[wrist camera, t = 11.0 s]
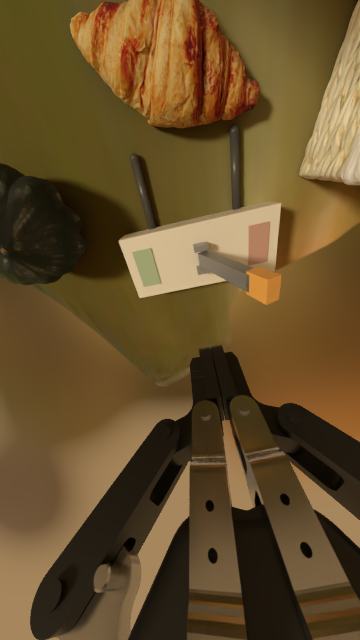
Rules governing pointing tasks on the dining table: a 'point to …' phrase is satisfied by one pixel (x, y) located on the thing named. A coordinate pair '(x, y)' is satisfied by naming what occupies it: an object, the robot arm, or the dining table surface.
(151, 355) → the dining table surface
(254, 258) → the switch block
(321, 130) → the storage basket
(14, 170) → the squash
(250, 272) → the lever
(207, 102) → the croissant
